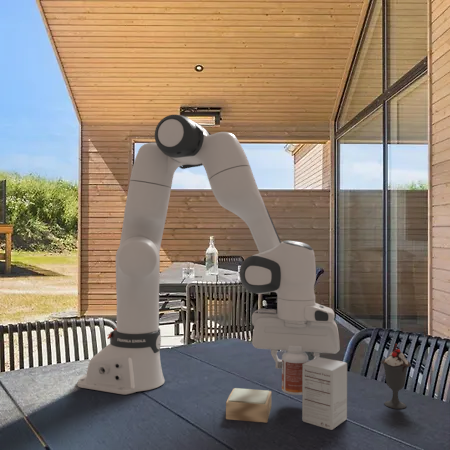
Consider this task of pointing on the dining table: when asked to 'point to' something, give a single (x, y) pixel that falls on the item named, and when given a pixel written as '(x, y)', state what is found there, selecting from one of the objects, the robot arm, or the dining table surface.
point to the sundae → (395, 376)
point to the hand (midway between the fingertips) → (295, 369)
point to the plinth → (248, 405)
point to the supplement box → (324, 392)
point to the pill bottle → (293, 370)
